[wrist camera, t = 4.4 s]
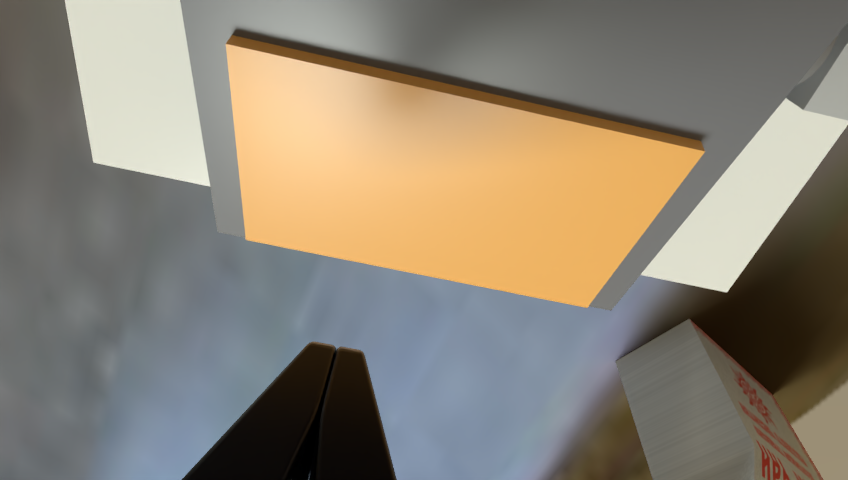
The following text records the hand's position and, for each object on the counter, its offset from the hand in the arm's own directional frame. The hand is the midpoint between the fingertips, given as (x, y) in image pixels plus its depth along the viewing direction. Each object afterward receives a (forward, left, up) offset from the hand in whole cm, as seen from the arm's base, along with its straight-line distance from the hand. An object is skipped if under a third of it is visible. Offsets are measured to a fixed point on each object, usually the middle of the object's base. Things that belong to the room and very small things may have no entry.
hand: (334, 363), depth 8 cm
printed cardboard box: (-10, -15, -11) cm, 21 cm away
